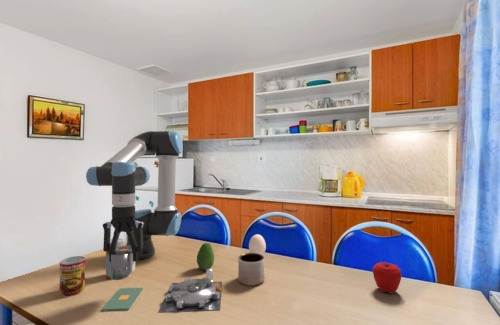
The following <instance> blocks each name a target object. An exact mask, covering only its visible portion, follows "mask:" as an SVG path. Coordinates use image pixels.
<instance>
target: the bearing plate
mask: <svg viewBox="0 0 500 325" xmlns="http://www.w3.org/2000/svg"><path fill="white" fill-rule="evenodd" d="M178 283H179V282H172V283H171V285H172V284H173V285H177V284H178ZM213 283H219V284H220V289H217V290H216V292H220V297H219V298H218V299H212V300H211V301H209V302H207V303H205V306H204V307H200V308H199V306H184V307H183V308H177V304H176V303H174V302H173V301H168V302H167V301H166V296H165V297H164V299H163V302H162V304H161V306H160V308H159V310H158V313H178V312H201V311H202V312H204V311H208V312H209V311H220V310H221V304H222V303H221V302H222V291H223V281H213ZM170 293H171V291H169V290H168V291H167V293H166V294H170Z"/></svg>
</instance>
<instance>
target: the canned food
mask: <svg viewBox="0 0 500 325" xmlns="http://www.w3.org/2000/svg"><path fill="white" fill-rule="evenodd" d="M85 290H86V257H85V256H83V255H82V256H81V255H75V256H74V255H73V256H69V257H65V258H64V259H61V260H60V261H59V296H61V297H65V298H69V297H73V296H77V295H79V294H82V293H83V292H85Z"/></svg>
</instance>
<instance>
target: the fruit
mask: <svg viewBox="0 0 500 325" xmlns="http://www.w3.org/2000/svg"><path fill="white" fill-rule="evenodd" d="M214 253H215V252H214V250H213V246H212V245H211V243H210V242H205V243H203V244H202V245H201V246H200V248H199V250H198V252H197V254H196V263H197V266H198V267H199V269H200V270H202V271H206V269H207V268H212V267H213V265H214V262H215V254H214Z"/></svg>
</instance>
